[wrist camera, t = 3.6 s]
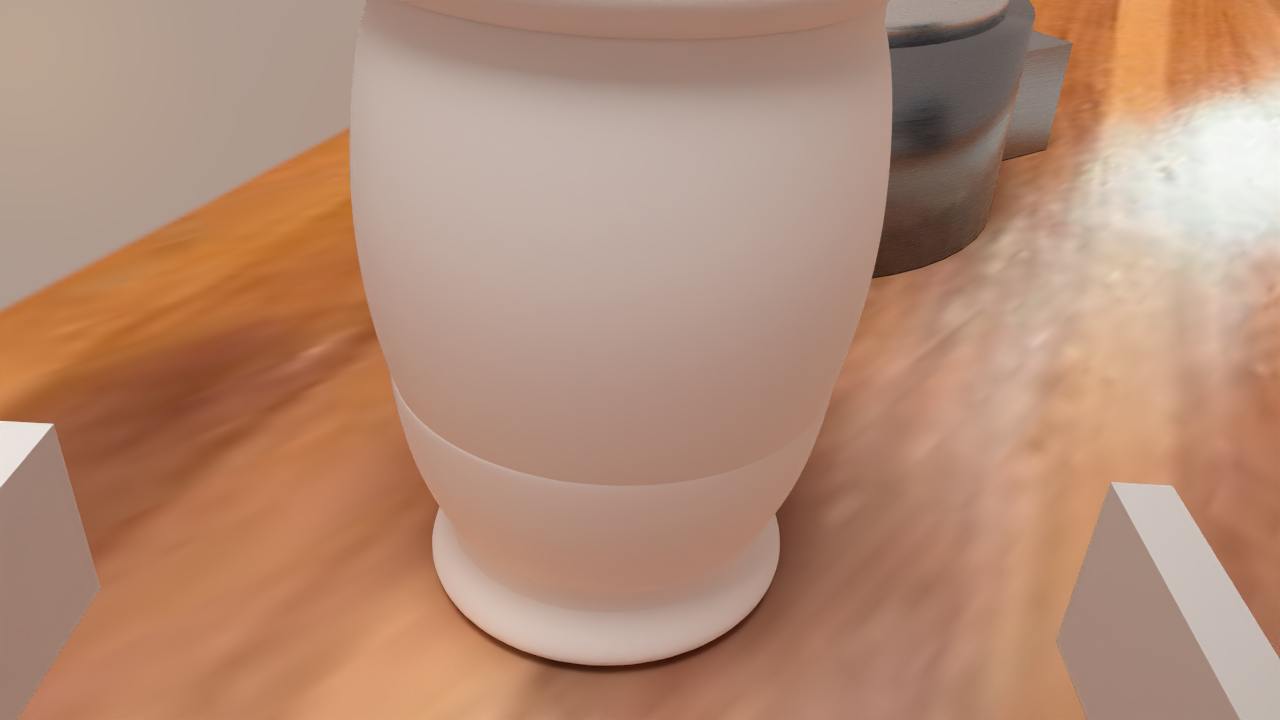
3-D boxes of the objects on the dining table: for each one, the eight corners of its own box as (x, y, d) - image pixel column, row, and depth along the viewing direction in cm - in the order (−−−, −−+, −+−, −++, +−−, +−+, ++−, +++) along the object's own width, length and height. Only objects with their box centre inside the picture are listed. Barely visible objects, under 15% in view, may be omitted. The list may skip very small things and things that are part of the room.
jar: (687, 800, 21) (775, -13, 13) (291, 587, 25) (175, -121, 17) (883, 503, 29) (1012, -115, 21) (556, 380, 33) (560, -172, 25)
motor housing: (844, 67, 62) (874, -139, 56) (1157, 194, 48) (1239, -63, 42) (441, 136, 50) (427, -117, 44) (702, 334, 36) (731, 0, 30)
